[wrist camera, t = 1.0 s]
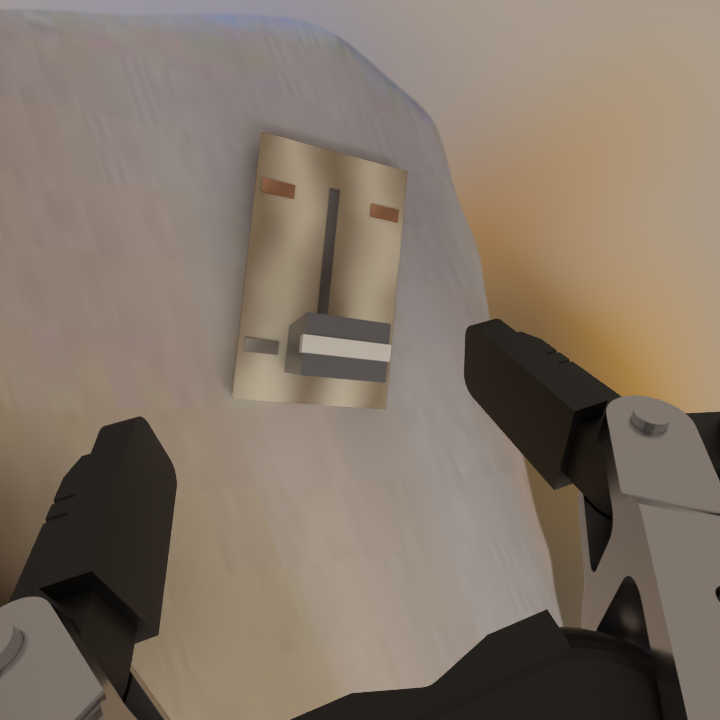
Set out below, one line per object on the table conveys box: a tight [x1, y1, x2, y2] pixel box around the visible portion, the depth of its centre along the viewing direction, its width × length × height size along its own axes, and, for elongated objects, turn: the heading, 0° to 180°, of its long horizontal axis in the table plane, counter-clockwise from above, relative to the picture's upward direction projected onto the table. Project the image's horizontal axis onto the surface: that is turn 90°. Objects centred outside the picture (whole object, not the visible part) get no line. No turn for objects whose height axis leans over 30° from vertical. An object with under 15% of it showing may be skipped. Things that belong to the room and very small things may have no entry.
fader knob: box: [284, 312, 391, 383], centre depth 26 cm, size 5×4×8 cm
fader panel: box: [232, 132, 407, 409], centre depth 31 cm, size 12×20×2 cm, turn 173°
